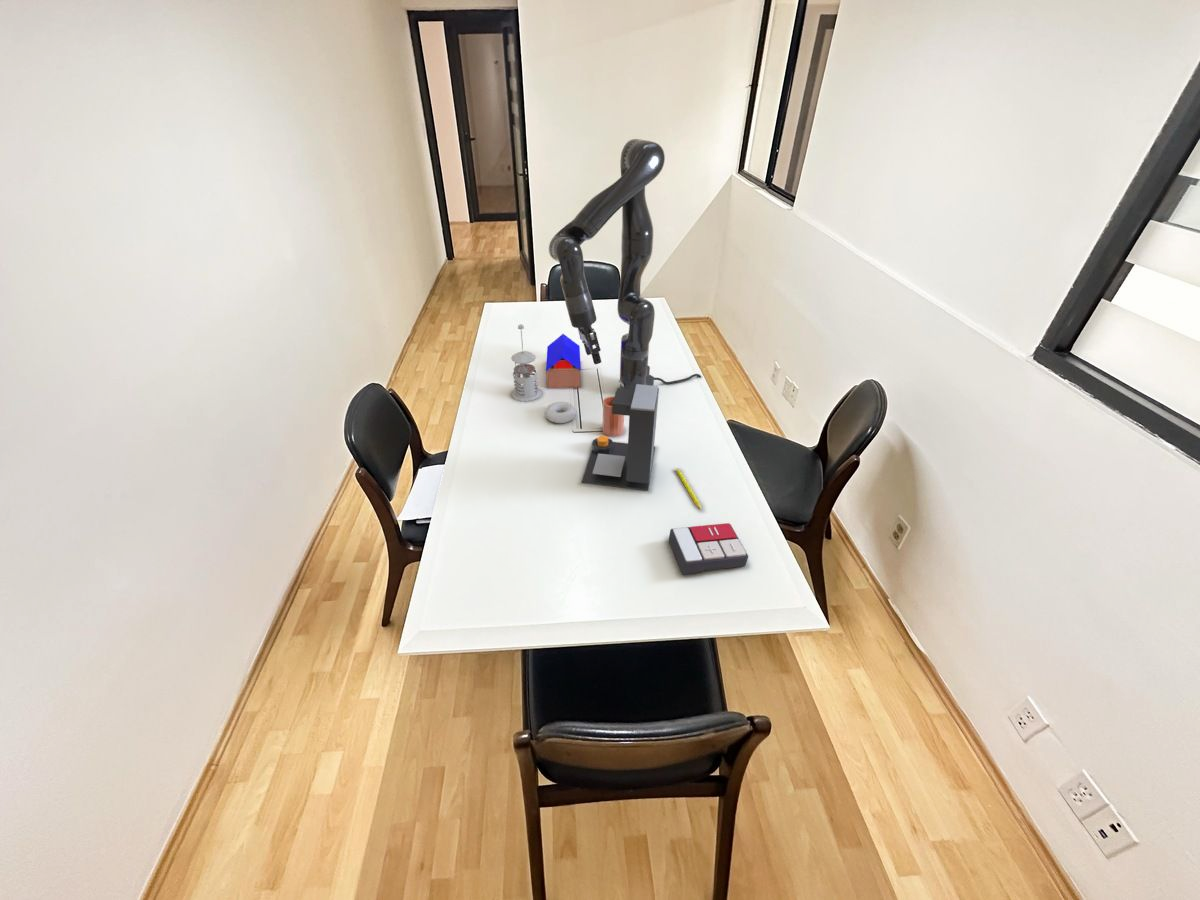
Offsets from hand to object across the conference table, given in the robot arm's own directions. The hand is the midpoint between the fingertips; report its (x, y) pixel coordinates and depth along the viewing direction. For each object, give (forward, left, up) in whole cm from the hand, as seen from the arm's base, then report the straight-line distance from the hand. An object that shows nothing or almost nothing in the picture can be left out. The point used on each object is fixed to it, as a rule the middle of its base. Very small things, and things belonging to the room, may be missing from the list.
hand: (593, 358), depth 159 cm
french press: (+12, -24, -19) cm, 33 cm away
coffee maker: (+12, +31, -17) cm, 37 cm away
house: (-6, -28, -19) cm, 34 cm away
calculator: (+13, +65, -19) cm, 69 cm away
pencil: (+1, +46, -19) cm, 50 cm away
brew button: (+10, +19, -17) cm, 27 cm away
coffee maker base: (+10, +27, -19) cm, 35 cm away
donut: (+10, -4, -19) cm, 22 cm away
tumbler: (+1, +12, -19) cm, 23 cm away
